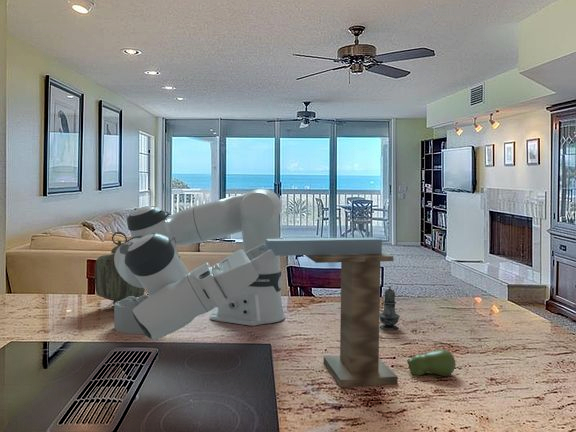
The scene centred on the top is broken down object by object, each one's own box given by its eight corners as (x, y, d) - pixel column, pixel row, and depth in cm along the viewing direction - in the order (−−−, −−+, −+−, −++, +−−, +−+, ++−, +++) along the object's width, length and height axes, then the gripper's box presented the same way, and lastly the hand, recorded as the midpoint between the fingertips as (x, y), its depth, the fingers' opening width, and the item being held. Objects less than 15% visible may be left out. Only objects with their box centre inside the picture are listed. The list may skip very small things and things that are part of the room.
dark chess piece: (399, 331, 139) (400, 288, 138) (378, 330, 140) (379, 287, 139) (399, 325, 144) (400, 284, 144) (378, 324, 146) (379, 283, 145)
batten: (268, 255, 101) (268, 241, 101) (265, 253, 105) (265, 238, 105) (381, 253, 105) (381, 239, 105) (375, 251, 109) (375, 237, 109)
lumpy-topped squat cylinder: (150, 335, 134) (150, 303, 134) (106, 332, 137) (105, 300, 136) (167, 324, 144) (166, 294, 144) (125, 322, 147) (124, 292, 146)
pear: (455, 353, 104) (406, 358, 106) (459, 378, 104) (410, 383, 106) (451, 345, 109) (404, 350, 111) (454, 368, 110) (408, 373, 111)
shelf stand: (316, 389, 99) (317, 258, 98) (301, 364, 113) (302, 249, 111) (397, 383, 102) (400, 256, 101) (374, 360, 116) (375, 248, 114)
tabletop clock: (146, 309, 161) (145, 232, 160) (123, 315, 154) (121, 234, 152) (116, 303, 169) (115, 229, 167) (93, 309, 161) (91, 231, 160)
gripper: (216, 287, 112) (270, 255, 113) (220, 310, 92) (285, 270, 93) (202, 263, 111) (256, 231, 112) (203, 280, 91) (268, 241, 92)
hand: (269, 249), depth 103 cm, fingers open, 8 cm apart
